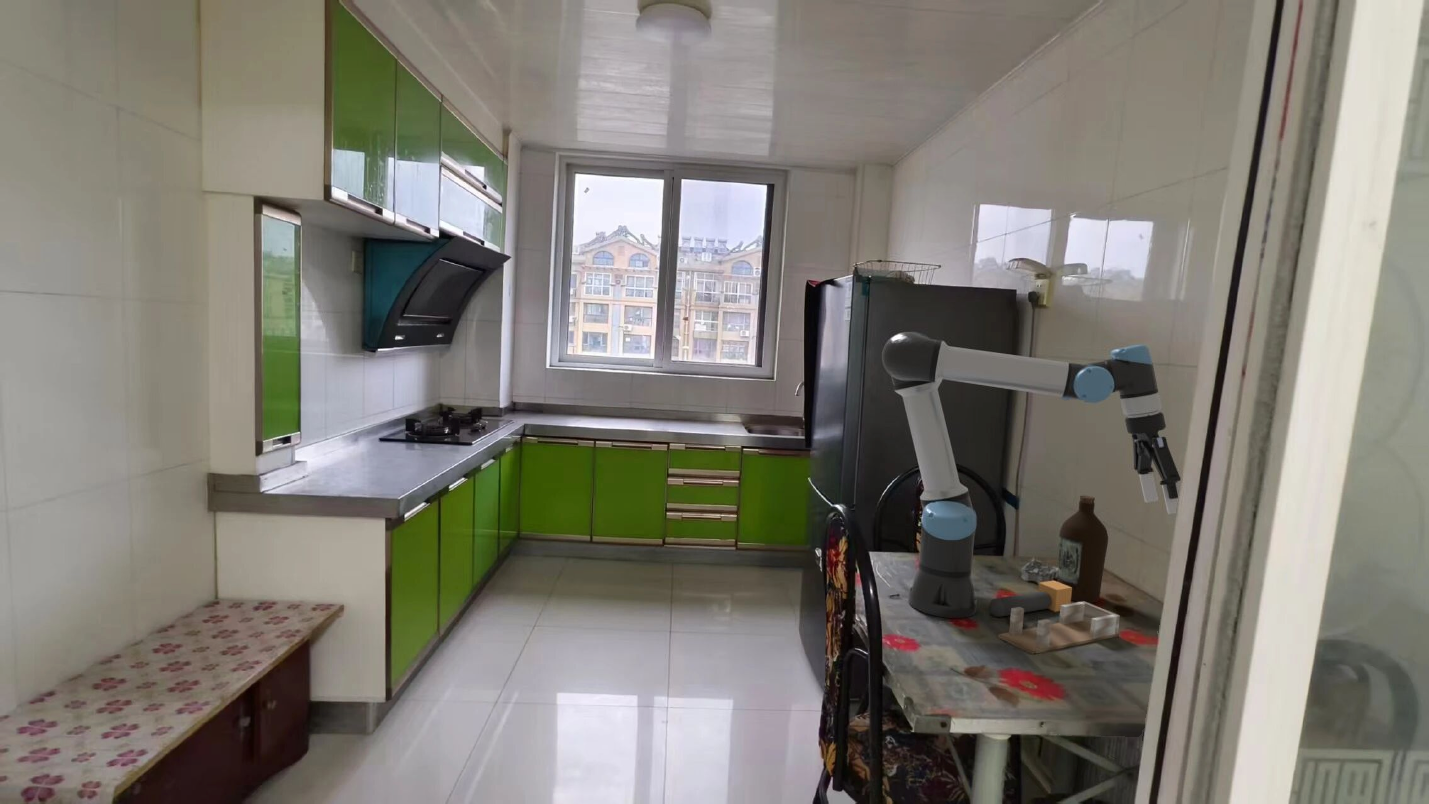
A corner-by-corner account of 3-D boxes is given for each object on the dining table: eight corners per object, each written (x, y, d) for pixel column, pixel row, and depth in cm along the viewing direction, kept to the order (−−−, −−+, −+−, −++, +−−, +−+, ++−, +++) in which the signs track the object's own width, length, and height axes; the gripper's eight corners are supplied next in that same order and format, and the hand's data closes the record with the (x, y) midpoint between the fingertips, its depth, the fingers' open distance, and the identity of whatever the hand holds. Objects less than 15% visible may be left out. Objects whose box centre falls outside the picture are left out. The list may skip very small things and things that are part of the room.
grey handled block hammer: (999, 621, 160) (1001, 598, 159) (982, 613, 164) (984, 591, 164) (1069, 609, 169) (1072, 587, 169) (1051, 601, 174) (1054, 580, 173)
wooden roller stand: (1031, 654, 143) (1034, 625, 143) (997, 637, 151) (1000, 609, 151) (1118, 636, 155) (1121, 609, 154) (1083, 620, 162) (1085, 595, 162)
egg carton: (1032, 571, 197) (1033, 556, 197) (1061, 578, 192) (1062, 563, 192) (1016, 579, 190) (1018, 564, 189) (1046, 587, 185) (1047, 571, 184)
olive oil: (1078, 587, 185) (1087, 491, 182) (1112, 602, 175) (1122, 501, 172) (1044, 589, 182) (1053, 492, 179) (1077, 605, 172) (1087, 502, 169)
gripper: (1184, 414, 148) (1206, 515, 148) (1141, 407, 173) (1160, 494, 173) (1145, 421, 150) (1166, 521, 150) (1107, 413, 174) (1126, 499, 174)
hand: (1163, 507), depth 161 cm, fingers open, 13 cm apart
